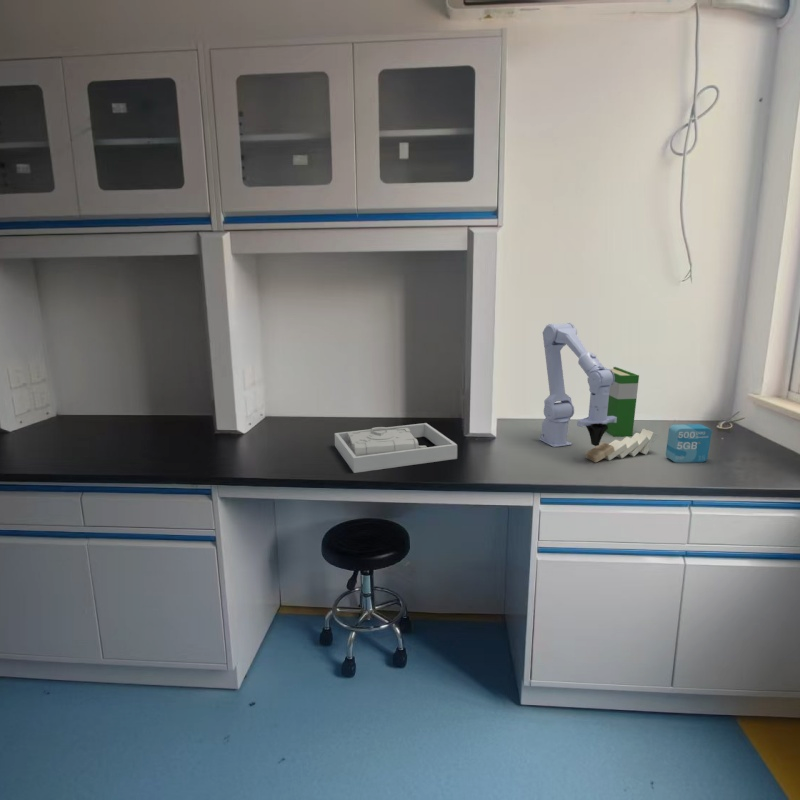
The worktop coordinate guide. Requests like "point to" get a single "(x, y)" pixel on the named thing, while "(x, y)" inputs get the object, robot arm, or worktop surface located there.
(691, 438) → the data package
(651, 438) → the domino
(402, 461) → the tray
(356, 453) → the grey case
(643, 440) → the domino
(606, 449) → the domino
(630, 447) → the domino
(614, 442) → the domino
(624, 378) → the hardback book
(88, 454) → the worktop surface
